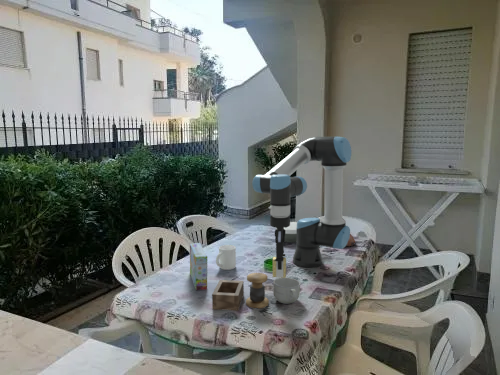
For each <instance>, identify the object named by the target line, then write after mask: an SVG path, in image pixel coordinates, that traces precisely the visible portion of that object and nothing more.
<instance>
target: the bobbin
mask: <svg viewBox="0 0 500 375" xmlns="http://www.w3.org/2000/svg"><path fill="white" fill-rule="evenodd" d="M268 277H269V276H268V275H267V274H265V273H263V272H252V273H249V274H247V275H246V281H247V282H249V283H251V284H250V285H249V297H247V298H246V299H245V305H246V306H247V307H248V308H250V307H251V309H255V308H258V309H259V310H261V309H264V308H266V306H267V307H268V306H269V305H270V303H269V302H270V300H269V299H268V298H267V297H266V296H265V295H266V293H265V292H266V290H265V288H266V286H265V285H264V283H266V282H267V281H268ZM268 304H269V305H268Z"/></svg>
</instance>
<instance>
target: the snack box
mask: <svg viewBox="0 0 500 375" xmlns="http://www.w3.org/2000/svg"><path fill="white" fill-rule="evenodd" d="M189 274H190V276H191V280H192V282H193V285H194V288H195V291H207V290H208V255H207V253H206V252H205V249H204V248H203V246H202V243H201V242H195V243H189Z"/></svg>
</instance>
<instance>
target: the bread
mask: <svg viewBox="0 0 500 375" xmlns="http://www.w3.org/2000/svg"><path fill="white" fill-rule="evenodd" d="M355 244H356V240H355V238H354V236H353V235H352V234H351V233H350V236H349V240H348V242H347V244H346V246H345V247H346V248H347V247H350V246H351V247H353V246H354V245H355ZM345 247H344V248H345Z"/></svg>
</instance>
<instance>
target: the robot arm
mask: <svg viewBox="0 0 500 375" xmlns="http://www.w3.org/2000/svg"><path fill="white" fill-rule="evenodd" d="M351 157H352V146H351V144H350V141H349V140H348V138H347V137H346V136H345V137H344V136H343V137H342V136H313V137H310V138H308V139H305V140H304V141H302V142H300V143H298V144H297V145H296V146H294V148H293V149H292V152H291V153H289V154H288V155H287V156H285V158H283V159H282V160H281V161H280V162H278V163H276V165H274V166H273V167H272V168H271V169H270V170H269V171H267V172H266V173H265V174H256V175H255V176H254V177H253V179H252V183H251V185H252V189H253V191H254V192H255V193H260V194H269V195H270V196H269V197H270V200H269V204H270V206H268V210H270V212H269V213H270V220H269V221H270V222H269V224H270V227H273V228H275V229H274V237H275V240H274V241H275V257H276V259H275V260H274V261H276V277H275V278H281V277H283V257H286V253H285V248H284V247H285V246H284V244H285V241H284V240H285V230H284V227H285V228H286V227H289V226H290V222H291V216H290V215H291V198H294V197H299V196H300V195H303V194H305V193H306V191H307V188H308V184H307V180H306V179H305V178H304V177H302V176H296V175H295V176H292V177H291V175H293V174H294V173H295V172H296V171H297V170H299V168H300V167H301V166H303V165H306V164H308V163H310V162H317V161H318V162H321V164H320V166H321V167H322V168H323V169H324V205H323V206H324V212H323V213H324V217H323V218H322V219H320V218H318V217H305V218H300V219H299V220H297V228H296V229H297V242H296V245H295V246H296V248H295V251H294V253H293V256H292V263H293V264H294V265H295V266H298V267H303V268H315V267H316V268H317V267H320V266H322V265H323V257H322V253H321V249H320V247H325V248H330V249H334V250H335V249H337V250H344V248H345V246H346V244H347V242H348V240H349V236H350V234H351V229H350V226H348V225H347V224H346V223H347V222H346V221H347V220H345V218H344V217H343V205H344V204H343V203H344V202H343V201H344V200H343V199H344V197H343V196H344V191H343V190H344V169H345V168H346V167H347V163H349V162H350V161H351ZM276 228H277V230H276ZM346 247H347V246H346Z"/></svg>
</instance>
